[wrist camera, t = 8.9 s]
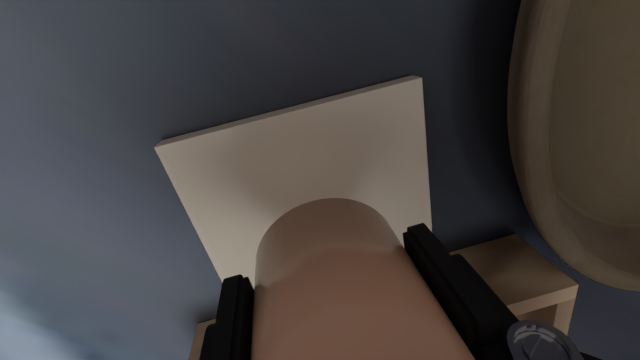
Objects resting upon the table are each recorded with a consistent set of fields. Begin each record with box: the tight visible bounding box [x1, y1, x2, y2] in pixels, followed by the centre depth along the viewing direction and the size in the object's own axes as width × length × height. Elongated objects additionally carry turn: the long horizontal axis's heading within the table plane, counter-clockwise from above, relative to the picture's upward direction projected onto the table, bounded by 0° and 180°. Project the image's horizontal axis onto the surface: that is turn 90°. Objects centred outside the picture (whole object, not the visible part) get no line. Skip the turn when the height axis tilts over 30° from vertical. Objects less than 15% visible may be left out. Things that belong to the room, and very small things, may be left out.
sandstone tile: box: [154, 75, 432, 289], centre depth 16 cm, size 12×10×1 cm
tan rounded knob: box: [250, 198, 475, 360], centre depth 8 cm, size 6×6×8 cm
